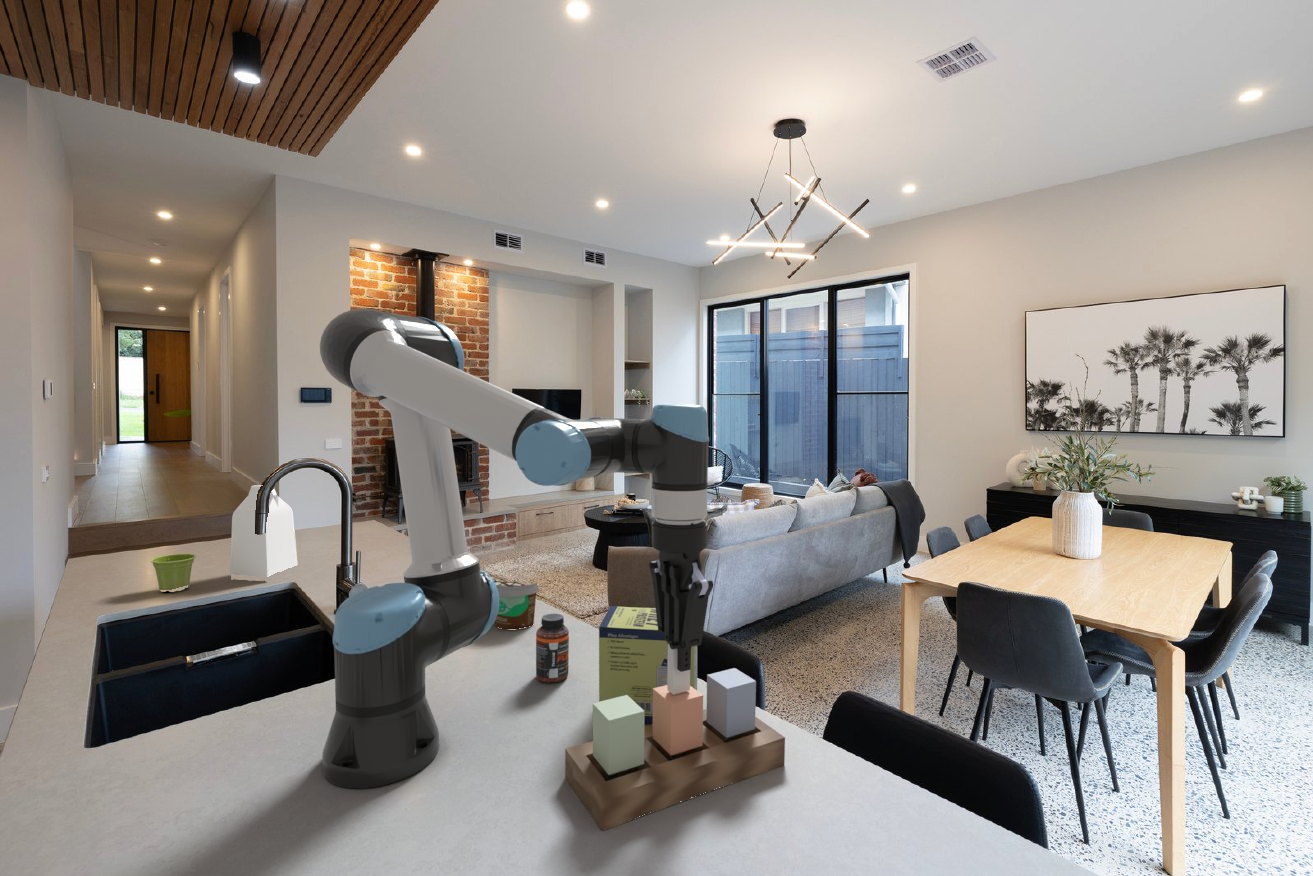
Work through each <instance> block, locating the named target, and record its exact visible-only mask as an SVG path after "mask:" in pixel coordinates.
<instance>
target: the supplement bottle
mask: <svg viewBox="0 0 1313 876" xmlns="http://www.w3.org/2000/svg"><path fill="white" fill-rule="evenodd" d="M564 623H565V622H564V616H563V614H560V613H547V614H544V615H542V616H541V621H540V624H541V626H540V627H538V628H537V630H536V634H535V637H536V639H535V640H536V641H535V645H536V646H535V655H536V656H535V673H536V674H535V677H536V679H537V680H539V681H540V682H543V683H547V684H548V683H549V684H552V683H558V682H562V681H563V680H565V679H567V678H568V676H569V663H570V662H569V660H570V659H569V652H570V651H569V647H570V646H569V645H570V643H569V641H570V640H569V639H570V633H569V629H568V627H567V626H565V624H564Z"/></svg>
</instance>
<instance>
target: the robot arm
mask: <svg viewBox="0 0 1313 876" xmlns="http://www.w3.org/2000/svg"><path fill="white" fill-rule="evenodd" d="M319 354H320V358H321V362H322V363H323V365H324V367H325V369H326V371H327V372H328V373H329V375H330V376H332V377H333V378H334V379H335V380H336V381H338V382H339V383H341V384H342V385H344V386H346V387H348V388H349V389H352V390H354V391H356V392H357V393H360V394H362V395H364V396H367V397H371V398H373V397H374V398H376V397H377V399H378V404H379V406H381V407H382V408H384V409H386V410H387V411H388V412H389V414H390V416H391V418H390V419H391V423H392V430H393V431H392V432H393V439H394V444H395V452H396V457H397V459H396V460H397V465H398V472H399V478H400V485H401V493H402V499H403V500H402V501H403V508H404V514H405V521H406V528H407V529H406V530H407V535H408V542H409V550H410V555H411V563H410V564H409V566H408V568H406V570H404V572H403V580H404V582H392V583H385V584H384V585H381V586H378V585H376V586H375V585H374V586H373V587H372V586H371V587H369V588H366V589H363V590H361V591H358V592H356V593H354V594H352V595H351V596H349V597H347V598H346V599H345V600H344V601H343V602H342V603H340V605H339V606H338V608H337V609H336V612H335V615H334V628H333V633H332V644H333V653H334V690H335V711H334V716H333V719H332V723H331V725H330V729H329V732H328V735H327V738H326V740H325V744H324V747H323V750H322V756H321V760H322V761H321V763H322V774H323V775H322V776H323V777H324V778H325V779H326V780H327V781H328V782H329V783H331V784H333V785H335V786H337V787H342V788H348V789H369V788H377V787H382V786H385V785H390V784H394V783H396V782H399V781H402V780H405V779H407V778H408V777H411V776H414V775H415V774H416V773H418V772H420V771H422V770H423V769H425V768H426V767H427V766H428V765H429V764H431V763H432V761H433V760H434V759H435V758H436V756H437V755H438V752H439V749H440V738H439V737H440V733H439V727H438V725H437V723H436V720H435V716H434V715H433V712H432V709H431V707H430V704H429V701H428V699H427V695H426V668H427V667H428V666H430V665H431V664H433V663H436V662H438V661H439V660H441V659H443V658H445V657H448V655H449V656H450V655H451V654H453V653H454V652H456V651H459V650H461V649H462V648H466V647H468V646H470V645H472V644H473V643H475V642H477V640H479V638H481V637H483V636H484V635H485V634H486V633H487V632H488V631H489V630H490V629H491V628H492V626H493V625H495V623H494V622H495V620H496V617H497V614H498V610H499V594H498V590H497V587H496V584H495V582H494V581H493V580H492V578H490V574H489V573H487V571H485V570H483V569H481V567H480V560H479V558H478V557H476V556H475V555H474V554H472V553H470V551H469V550H468V543H467V537H466V530H465V523H464V516H463V510H462V501H461V495H460V494H461V493H460V488H459V481H458V475H457V474H458V473H457V467H456V461H455V453H454V446H453V445H454V444H453V440H452V432H451V431H454V432H455V433H458V434H460V435H462V436H463V437H467V439H470V440H472V441H474V442H476V443H478V444H480V445H482V446H484V447H486V448H488V449H490V450H492V451H495V452H496V453H499V454H501V455H503V456H505V457H507V458H509V459H510V460H512V461H515V462H516V463H517V466H518V468H519V469H520V470H521V472H522V474H523V475H524V476H525V478H526V479H527V480H528V481H530V482H531V483H533V484H536V485H538V486H545V487H548V486H554V487H556V486H557V487H558V486H567V485H569V484H573V483H574V482H578V481H581V480H586V479H590V478H596V477H601V476H605V475H610V474H614V473H615V474H616V473H617V474H618V473H622V474H623V473H627V474H630V473H631V474H644V475H645V474H651V516H652V517H653V518H654V520H652V522H651V546H652V547H653V549H654V550H657V552H658V559H657V560H651V561H649V563H648V566H649V571H650V574H651V578H652V587H653V596H654V605H655V608H656V616H657V625H658V631H659V632H660V633H664V638H665V640H666V642H667V651H668V652H667V654H668V655H667V660H668V669H667V690H668V691H669V692H670V693H671V694H673V695H674V694H678V693H682V692H686V691H689V690H690V668H691V647H692V646H697V647H698V646H700V645H701V644H702V642H703V637H704V636H703V634H704V629H705V623H706V616H707V611H708V610H707V609H708V603H709V597H710V594H711V592H712V590H713V588H714V581H713V580H712V579H711V578H709V579H706V578H705V577H704V575H703V574H702V568H703V567H702V566H703V565H702V562H701V556H700V555H701V553H702V551H704V550H705V549H707V547H708V522H707V521H706V520H705V518H706V517H707V516H708V484H709V483H708V473H709V472H708V470H709V468H708V467H709V442H710V436H709V427H708V412H707V410H706V408H705V407H704V406H703V405H699V404H656V405H654V406H653V407H652V410H651V415H650V418H642V419H641V418H639V419H638V418H614V417H603V416H602V417H600V416H598V417H589V418H581V419H571V418H568V417H566V416H564V415H561V414H559V413H557V412H555V411H552V410H550V409H547V408H545V407H544V406H542V405H540V404H538V403H535V402H533V401H530V400H529V399H526V398H524V397H522V396H520V395H517V394H515V393H513V392H511V391H508V390H506V389H505V388H502V387H499V386H497V385H495V384H492V383H490V382H489V381H487V380H484V379H482V378H479V377H477V376H475V375H473V374H471V373H468V372H466V371H464V369H465V353H464V349H463V346H462V343H461V342H460V339H459V338H458V337H457V335H456V333H454V331H452V329H450V328H449V327H448V326H446V325H445V324H443V323H441V322H438V321H435V320H431V319H429V318H426V317H423V316H413V315H412V316H411V315H406V314H401V313H400V314H399V313H393V312H387V311H381V310H378V309H372V308H356V309H351V310H347V311H344V312H342V313H340V314H338V315H337V316H335V317H334V318H332V320H330V321H329V323H328V324H327V326H325V327H324V330H323V332H322V334H321V337H320V342H319Z"/></svg>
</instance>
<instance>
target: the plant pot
mask: <svg viewBox="0 0 1313 876" xmlns="http://www.w3.org/2000/svg"><path fill="white" fill-rule="evenodd" d="M195 558H197V554H193V553H176V554H166V555H161V556H157V557H154V558H152V559H150V562H151V563H152V566H153V568H154V571H155V574H156V579H157V584H158V589H160V590H172V589H176V588H179V587H183V586H187V585H188V584H189V585H190V581H191V573H192V567H193V564H194V560H195ZM160 590H159V591H160Z"/></svg>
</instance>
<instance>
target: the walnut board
mask: <svg viewBox="0 0 1313 876" xmlns="http://www.w3.org/2000/svg"><path fill="white" fill-rule="evenodd" d="M706 716H707V708H703V746H700V747H697V748H693V749H690V750H687V751H684V752H681V753H678V754H674V755H670V754H669V753H668V752H667V751H666V750H665V749H664V748H663V747H662V746H661V745H660V744H659V743H657V742H656V741H655V740H654V739H653V738H652V737H653V724H651V725H644V764H643V765H639V766H636V767H633V768H630V769H627V770H624V771H620V772H617V773H614V774H611V775H608V774H607V772H606V771H605V770H604V769H603V767H602V766H601V765H600V764H599V762H598V761H597V760H596V759H595V757H594V756H593V740H592V741H587V742H583V743H581V744H576V745H573V746H570V747H566V748H564V750H565V751H564V754H565V755H564V756H565V758H564V769H565V770H564V778H565V779H566V780H567V782H568V784H569V785H570V787H571V789H572V790H573V791H574V793H575V794H576V795H577V797H578V799H579V800H580V801H581V802H582V804H583V806H584V807H585V809H586V810H587V812H588V813H589V814H590V815H592V816H591V818H592V819H593V820H594V822H595V823H596V825H597V824H598V825H599V826H598V825H597V826H598V828H599V827H600V828H599V829H600V830H602V831H601V832H604V831H606V830H605V829H607V830H608V829H611V828H615V827H618V826H620V825H623V824H625V823H628V822H627V821H629V820H631V819H634V820H636V819H635V818H637V817H639V816H642V815H644V814H645V816H647V815H646V814H648V813H650V812H653V811H656V810H659V811H661V809H662V810H664V809H663V808H665V809H667V808H669V807H668V806H670V807H672V806H671V805H673V804H676V803H678V802H680V801H684V800H687V799H689V798H691V797H695V796H698V795H700V794H703V793H705V792H709V791H711V792H713V791H712V790H714V789H716V788H719V787H723V786H725V787H727V786H726V785H728V784H731V783H734V784H736V783H739V782H742V781H744V780H743V779H745V780H747V779H750V778H753V777H755V776H758V775H760V774H761V775H762V774H764V773H767V772H769V771H771V770H774V769H777V768H780V767H783V766H785V762H786V761H785V760H786V759H785V757H786V756H785V752H786V751H785V750H786V747H785V746H786V737H785V736H784V735H783V734H781V733H780V732H779V731H777V730H776V729H774V728H773V727H771V726H770V725H768V724H767V723H766V722H764V721H762V720H761V719H760V718H758V717H757V716H755V729H753V730H750V731H747V732H744V733H741V734H737V735H734V736H731V737H728V738H726V737H725V736H724V735H722V734H721V733H720V732H719V731H717V730H716V729H715V728H714V727H712V726H711V725H710V724H709V723H707V722H706ZM733 738H735V739H734V740H731V739H733ZM727 740H730V741H728V742H725V741H727ZM680 754H681V755H683V754H684V755H685V756H681V755H680ZM676 755H677V756H680V757H678V758H675V759H671V758H674V757H677V756H676ZM673 756H674V757H673ZM668 759H671V760H668ZM627 772H629V773H627ZM623 773H627V774H625V775H621V776H618V777H615V778H612V779H609V780H607V781H606V780H605V779H608V778H611V777H613V776H617V775H620V774H623ZM741 780H742V781H741ZM738 781H739V782H738ZM731 785H732V784H731ZM728 786H729V785H728ZM723 788H724V787H723ZM714 791H715V790H714ZM709 793H710V792H709ZM703 795H704V794H703ZM700 796H701V795H700ZM698 797H699V796H698ZM695 798H696V797H695ZM689 800H690V799H689ZM687 801H688V800H687ZM684 802H685V801H684ZM678 804H679V803H678ZM676 805H677V804H676ZM673 806H674V805H673ZM666 807H667V808H666ZM656 812H657V811H656ZM648 815H649V814H648ZM642 817H643V816H642ZM637 819H638V818H637ZM631 821H632V820H631ZM629 822H630V821H629ZM617 825H618V826H617ZM603 830H604V831H603Z"/></svg>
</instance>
